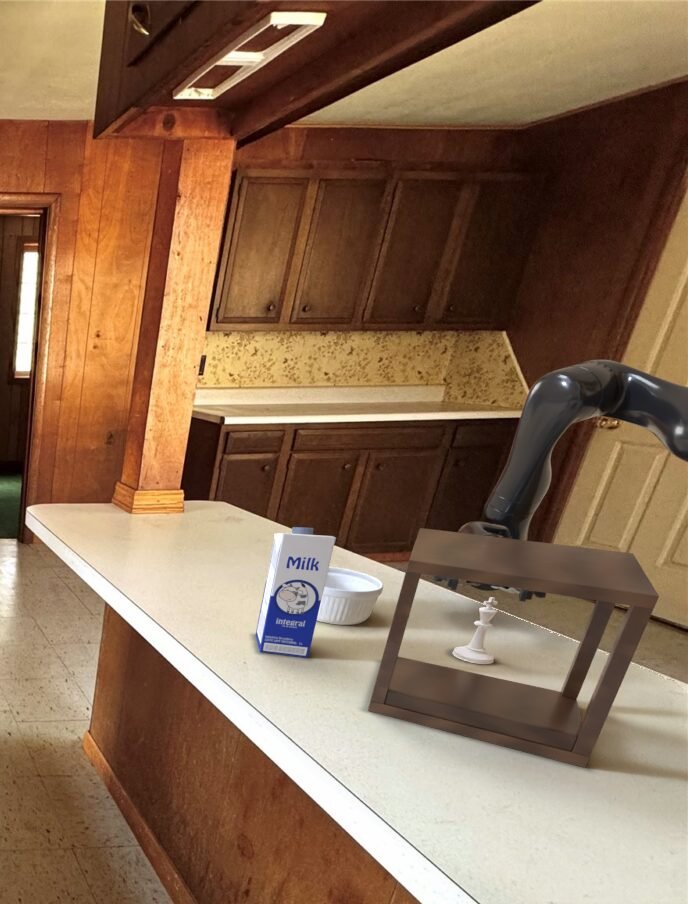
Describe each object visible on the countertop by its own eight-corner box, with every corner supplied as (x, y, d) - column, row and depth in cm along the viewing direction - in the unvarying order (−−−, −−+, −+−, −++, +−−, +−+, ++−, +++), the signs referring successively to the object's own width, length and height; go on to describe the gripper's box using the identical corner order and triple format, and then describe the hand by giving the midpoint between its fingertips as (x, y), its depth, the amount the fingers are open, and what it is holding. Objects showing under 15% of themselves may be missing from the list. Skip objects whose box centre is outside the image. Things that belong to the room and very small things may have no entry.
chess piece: (502, 664, 100) (523, 603, 97) (469, 664, 100) (489, 604, 97) (475, 650, 105) (495, 591, 101) (444, 650, 105) (462, 592, 101)
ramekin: (393, 622, 116) (403, 585, 113) (334, 633, 112) (343, 595, 110) (326, 596, 127) (334, 562, 125) (271, 605, 124) (278, 571, 121)
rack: (571, 704, 89) (633, 553, 81) (585, 768, 77) (659, 596, 69) (382, 662, 102) (420, 527, 94) (367, 710, 89) (409, 560, 81)
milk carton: (258, 652, 106) (282, 532, 99) (254, 635, 112) (276, 521, 105) (309, 658, 104) (337, 536, 97) (301, 640, 110) (327, 524, 102)
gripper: (444, 537, 121) (439, 560, 109) (551, 550, 112) (557, 576, 101) (433, 576, 123) (426, 601, 112) (536, 592, 115) (541, 621, 103)
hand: (488, 590), depth 106 cm, fingers open, 8 cm apart
